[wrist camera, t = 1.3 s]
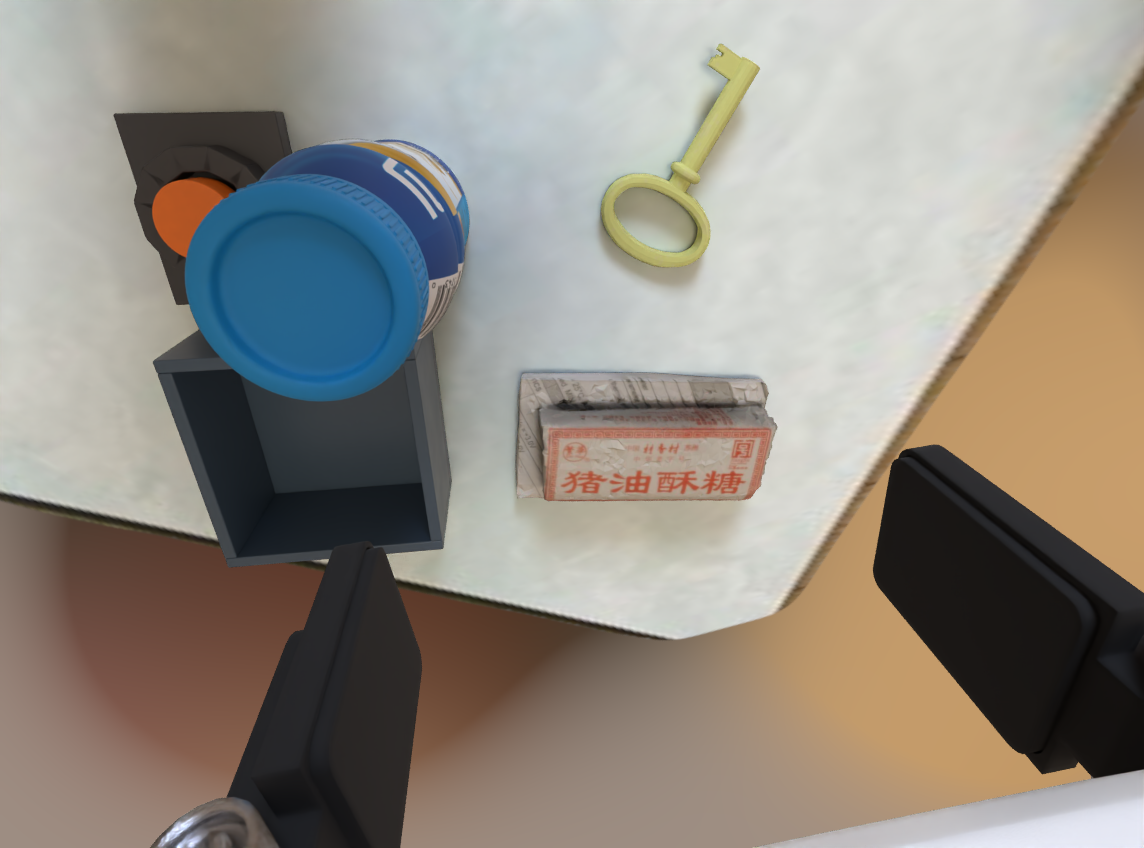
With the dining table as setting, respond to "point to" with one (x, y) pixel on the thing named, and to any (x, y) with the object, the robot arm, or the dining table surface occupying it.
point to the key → (684, 169)
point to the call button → (185, 209)
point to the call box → (196, 161)
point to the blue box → (312, 459)
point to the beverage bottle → (329, 266)
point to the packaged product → (641, 437)
